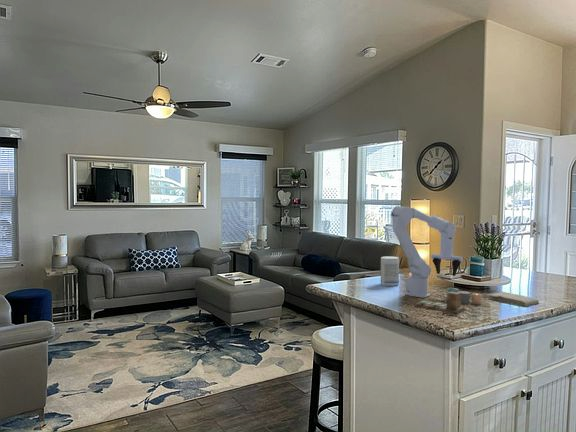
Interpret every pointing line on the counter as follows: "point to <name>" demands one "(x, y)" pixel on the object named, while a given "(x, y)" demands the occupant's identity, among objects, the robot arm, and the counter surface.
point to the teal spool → (452, 289)
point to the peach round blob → (476, 298)
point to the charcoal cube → (464, 297)
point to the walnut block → (454, 300)
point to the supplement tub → (390, 271)
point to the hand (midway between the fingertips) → (446, 274)
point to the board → (438, 306)
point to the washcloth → (513, 299)
